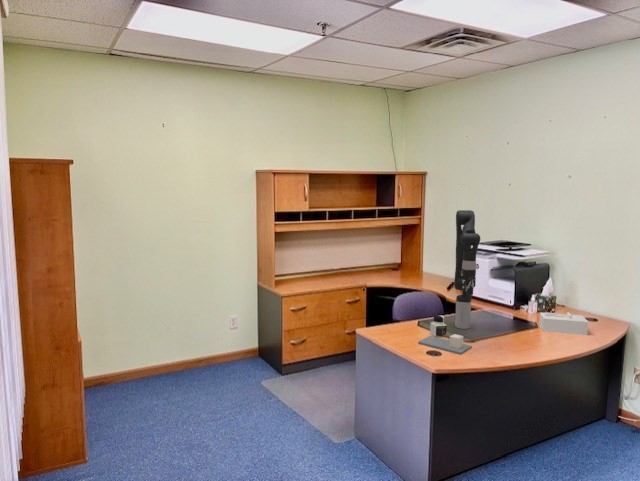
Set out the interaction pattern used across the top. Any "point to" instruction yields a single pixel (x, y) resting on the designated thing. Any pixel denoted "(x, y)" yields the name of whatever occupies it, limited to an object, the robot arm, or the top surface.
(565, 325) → the tissue box
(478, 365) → the top surface
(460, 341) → the beige cube block
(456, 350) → the board
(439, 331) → the medicine bottle
